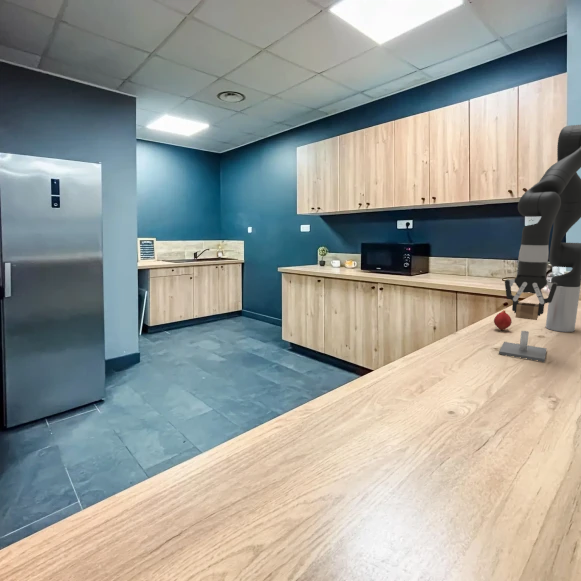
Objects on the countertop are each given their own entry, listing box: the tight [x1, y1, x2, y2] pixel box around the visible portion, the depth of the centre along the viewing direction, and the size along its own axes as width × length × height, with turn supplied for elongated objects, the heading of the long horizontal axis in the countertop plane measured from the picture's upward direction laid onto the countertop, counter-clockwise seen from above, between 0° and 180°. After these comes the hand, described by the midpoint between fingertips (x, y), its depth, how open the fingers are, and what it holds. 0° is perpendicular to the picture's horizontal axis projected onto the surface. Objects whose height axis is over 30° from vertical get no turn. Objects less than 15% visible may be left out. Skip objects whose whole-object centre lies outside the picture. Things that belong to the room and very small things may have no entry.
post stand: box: [498, 330, 547, 363], centre depth 120 cm, size 12×12×7 cm
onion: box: [493, 309, 512, 331], centre depth 145 cm, size 6×6×8 cm
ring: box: [515, 301, 539, 321], centre depth 118 cm, size 6×6×4 cm
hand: (527, 313), depth 118 cm, fingers closed on ring, 5 cm apart
